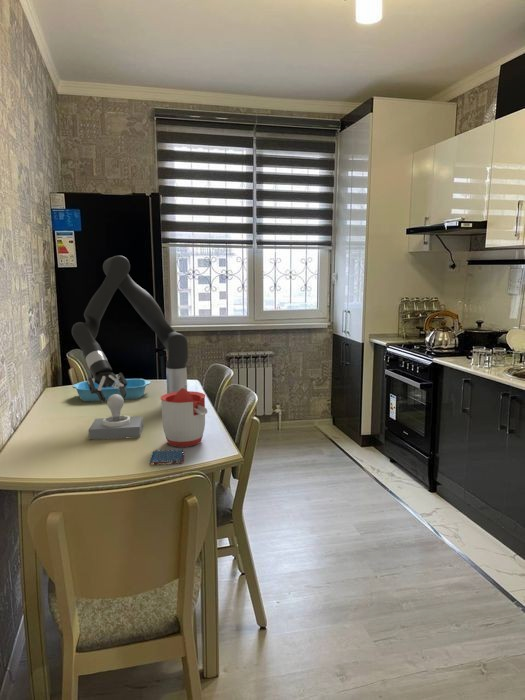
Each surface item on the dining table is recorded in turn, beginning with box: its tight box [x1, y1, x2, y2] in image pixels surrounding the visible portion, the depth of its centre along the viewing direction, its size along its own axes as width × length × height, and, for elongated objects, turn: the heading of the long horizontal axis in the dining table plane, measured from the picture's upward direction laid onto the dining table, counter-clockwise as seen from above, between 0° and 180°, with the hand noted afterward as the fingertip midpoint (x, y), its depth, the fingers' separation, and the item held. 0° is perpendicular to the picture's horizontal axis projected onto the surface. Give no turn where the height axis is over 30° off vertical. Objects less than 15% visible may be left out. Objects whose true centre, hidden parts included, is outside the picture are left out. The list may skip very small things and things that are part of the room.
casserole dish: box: [72, 378, 151, 402], centre depth 244 cm, size 37×22×7 cm, turn 104°
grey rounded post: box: [106, 394, 125, 422], centre depth 186 cm, size 6×6×11 cm
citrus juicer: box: [160, 388, 208, 448], centre depth 174 cm, size 16×17×20 cm
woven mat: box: [149, 449, 185, 466], centre depth 160 cm, size 10×11×2 cm
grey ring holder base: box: [88, 414, 144, 440], centre depth 187 cm, size 18×14×6 cm
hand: (114, 398), depth 186 cm, fingers open, 8 cm apart
